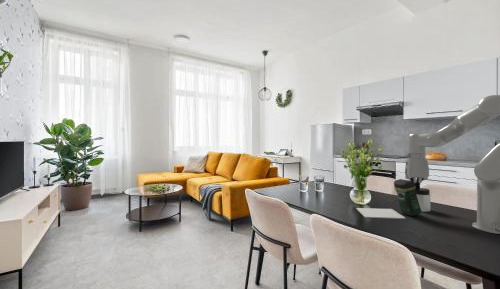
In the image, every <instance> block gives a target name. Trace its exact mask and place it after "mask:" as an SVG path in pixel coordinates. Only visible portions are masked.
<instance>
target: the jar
mask: <svg viewBox="0 0 500 289" xmlns="http://www.w3.org/2000/svg"><path fill="white" fill-rule="evenodd" d="M415 191H416V190H415ZM430 192H431V191H430V189H429V188H425V187H420V189H419V191H418V190H417V191H416V195H417V199H418V202H419V205H420V208H421V213H422V212H423V213H426V212H431V193H430Z"/></svg>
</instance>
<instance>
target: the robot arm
mask: <svg viewBox="0 0 500 289" xmlns="http://www.w3.org/2000/svg"><path fill="white" fill-rule="evenodd" d="M499 116H500V94H491V95H487V96H485V97H483V98H482V99H480V101H479V102H478V104H476V105H474V106H472V107H471V108H469V109H467V110H465V111H464V112H462V113H460V114H458V115H457V116H456V117H455V118H454V120H453V121H452V122H451V123H449V124H448V125H447V126H445V127H443V128H442V129H440V130H437V132H428V133H419V132H418V133H410V134H409V135H408V139H407V140H408V141H407V142H408V144H407V145H408V146H407V149H408V151H407V153H406V154H405V157H406V161H405V165H404V166H405V168H404V175H405V176H404V178H405V180H410V181H414V184H415V186H416V188H415V190H416V191H417V190H418V191H419V189H420V188H421V184H422V182H423V181H425V180H428V179H429V176H430V167H429V166H430V165H429V161H428V159H427V158H426V148H440V147H442V146H445V145H447V144H450V143H451V142H453V141H455V140H456V139H459V137H462V136H463V135H465V134H468V133H469V132H471V131H473V130H475V129H477V128H478V127H480V126H481V125H483V124H486V123H488V122H489V121H492V120H493V119H495V118H497V117H499ZM473 172H474V176H475V177H476V178H477V181H476V182H477V183H476V221H475V222H472V227H473V228H475V229H477V230H478V231H481V232H486V233H491V234H497V235H500V142H498V143H496V145H495V146H494V147H493V148H491V150H489V152H488V153H487V154H486V155H485V156H483V157H482V158H481V160H479V161H478V162H477V164H476V165H475V166H474V168H473Z"/></svg>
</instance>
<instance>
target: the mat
mask: <svg viewBox="0 0 500 289" xmlns="http://www.w3.org/2000/svg"><path fill="white" fill-rule="evenodd" d="M355 210H357V211H358V212H359V213H360V214H361V215H362V216H363V217H364V218H367V219H368V218H370V219H395V220H397V219H399V220H406V219H407V218H406V217H405V216H403V215H402V214H400V213H399V212H398V211H396V210H394V209H393V208H375V207H374V208H371V207H370V208H369V207H368V208H367V207H356V209H355Z"/></svg>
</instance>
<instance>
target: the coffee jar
mask: <svg viewBox="0 0 500 289" xmlns="http://www.w3.org/2000/svg"><path fill="white" fill-rule="evenodd" d="M393 182H394V183H393V186H394V190H395V192H396V195H397V202H398V206H399V211H400V213H401V214H404V215H408V216H410V217H411V216H418V215H420V214H422V211H421V208H420V205H419V202H418V199H417V195H416V191H415V188H416V186H415V184H414V181H411V180H409V179H404V178H403V179H402V178H399V179H396V180H394V181H393Z"/></svg>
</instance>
